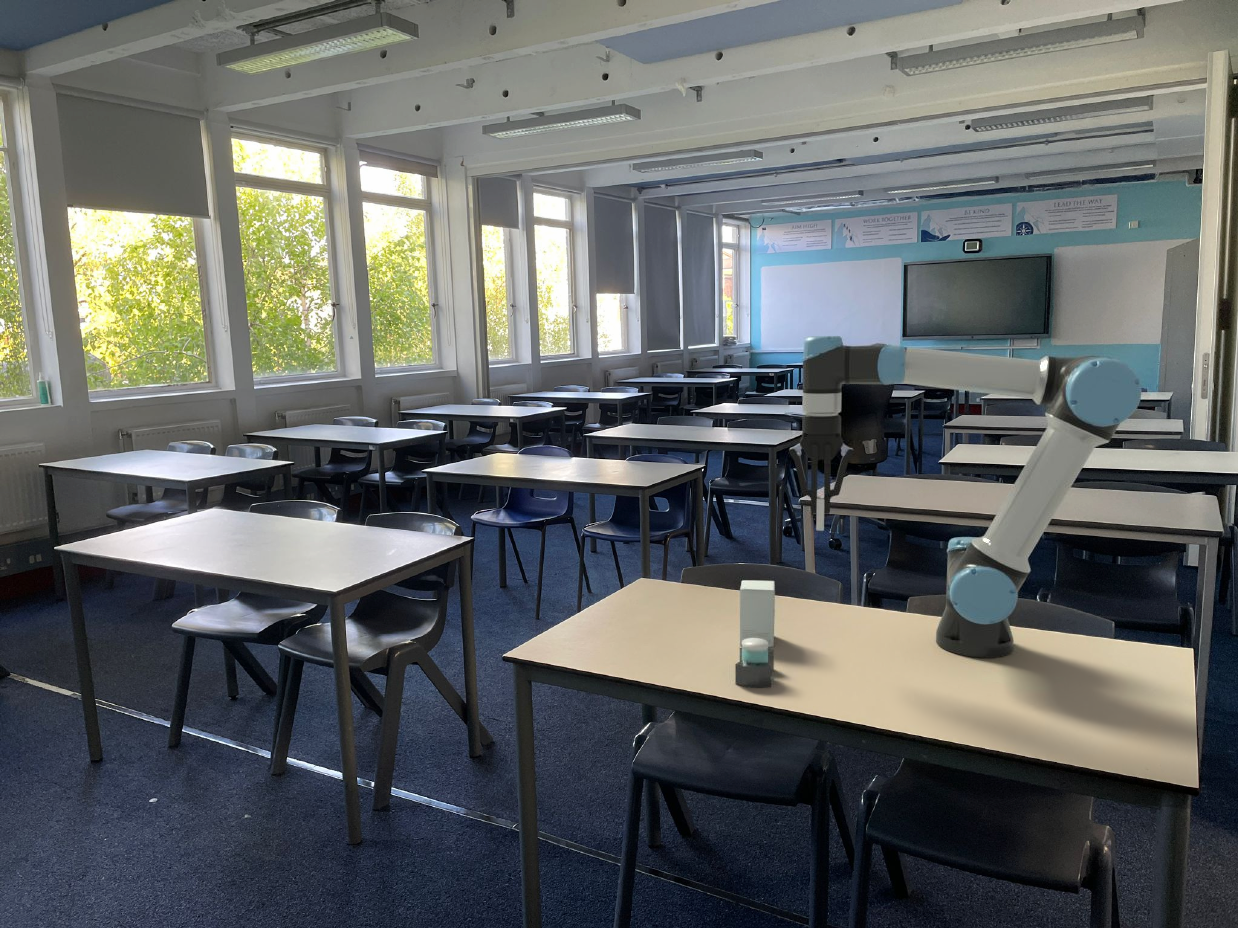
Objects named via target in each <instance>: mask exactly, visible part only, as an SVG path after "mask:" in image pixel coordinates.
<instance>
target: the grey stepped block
mask: <svg viewBox="0 0 1238 928" xmlns="http://www.w3.org/2000/svg"><path fill="white" fill-rule="evenodd" d="M774 652H775V650H774V649H772V648H768V663H767V662H764V663H749V662H745V661H742V647H739V662H737V663H735V664H734V665H735V666H734V667H735V672H734V673H735V685H737V686H738V685H739V686H742V687H745V688H757V689H762V688H770V687H772V671H773V670H774V669H775V667H774V666H775V664H774V663H775V658H774V657H775V653H774Z"/></svg>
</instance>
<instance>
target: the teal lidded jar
mask: <svg viewBox="0 0 1238 928" xmlns="http://www.w3.org/2000/svg"><path fill="white" fill-rule="evenodd" d="M741 648H742V661H745V662H749V663H764V662H767V663H768V649H769V647H768V642H767V641H766V640H764V639H760V638H748V639H744V640H743V641H742V645H741Z"/></svg>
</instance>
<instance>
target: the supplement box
mask: <svg viewBox="0 0 1238 928" xmlns="http://www.w3.org/2000/svg"><path fill="white" fill-rule="evenodd" d="M740 584H741V585H740V588H739V645H740V646H742V641H743V640H744V639H748V638H760V639H764V640H766V641H767V642H768V648H773V647H774V643H775V611H776V610H775V609H776V608H775V607H776V606H775V605H776V599H775V598H776V591H775V590H776V589H775V588H776V585H775V584H776V583H775V581H774V580H752V579H751V580H741V583H740Z"/></svg>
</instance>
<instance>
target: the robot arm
mask: <svg viewBox="0 0 1238 928" xmlns="http://www.w3.org/2000/svg"><path fill="white" fill-rule="evenodd" d="M802 354H803V357H802V412H803V413H804V415H803V416H802V419H801V420H802V422H801V423H802V432H801V433H802V434H801V438H800V440H799V443H797V444H796V445H794V446H792V447H790V448H789V451H788V453H789V454H790V456H791V457H792V459H793V461H794V465H795V469H796V474H797V477H798V482H799V486H800V490H801V493H802V495H803V496H807V497H809V498H810V513H811V514H816V526H815V527H816V528H815V529H816V531H821V532H823V531H825V515H826V514H827V515H828V514H830V512H831V499H832V498H834V497H836V496H837V497H838V496H839V495H840V493H841V489H842V486H843V483H844V482H843V481H844V478H845V474H846V471H847V467H848V464H849V460H850V459H851V458H852V456H853V455H854V453H855V452H854V449H853V447H849V446H848V445H846V444H845V443H844V440H843V438H842V416H841V415H840V414H839V413H841V412H842V386H843V385H844V384H846V385H850V384H851V385H852V384H853V385H854V384H855V385H856V384H857V385H858V384H859V385H884V386H887V385H895V384H896V385H897V384H898V385H899V384H907V385H916V386H922V387H923V386H924V387H931V388H940V389H946V390H947V389H949V390H957V391H966V392H971V393H973V392H974V393H981V394H991V395H999V396H1007V397H1016V398H1025V399H1032V401H1033V402H1035V404H1036V405H1039V406H1047V407H1048V408H1047V410H1046V411H1045V413H1044V415H1045V417H1046V420H1047V428H1046V429H1045V430H1044V432H1043V434H1042V435H1041V438H1040V439H1039V441H1038V442H1037V445H1036V446H1035V447H1034V449H1033V451H1032V452H1031V454H1030V456H1029V458H1028V460H1027V462H1026V463H1025V465H1024V467H1023V469H1022V470H1021V472H1020V474H1019V476H1017V477H1018V478H1017V479H1016V480H1015V482H1014V484H1013V486H1012V487H1011V489H1010V490H1009V493H1008V494H1007V496H1006V498H1005V499H1004V501H1003V503H1002V504H1001V507H1000V508H999V510H998V511H997V513H996V514H995V516H994V518H993V520H992V522H991V524H990V525H989V527H988V529H987V530H986V531H985V533H984V535H982V536H979V537H973V536H961V537H958V536H957V537H953V538H951V539H949V541H948V545H947V549H946V553H947V565H946V566H947V567H946V568H947V570H946V571H947V572H946V596H945V598H946V599H945V601H946V602H945V609H944V611H943V613H942V616H941V618H940V621H939V623H938V625H937V629H936V632H935V643H936V644H937V645H938V646H939V647H940V648H941V649H943V650H946V651H948V652H950V653H953V654H957V655H961V656H967V657H975V658H999V657H1005V656H1007V655H1009V654H1011V653H1012V652H1013V651H1014V640H1015V639H1014V636H1013V632H1012V630H1011V626H1010V622H1009V619H1008V617H1009V616H1010V615H1011V614H1012V613H1013V611H1014V610H1015V608H1016V605H1017V603H1018V597H1019V591H1020V589H1021V588H1022V586H1023V584H1024V582H1025V581H1026V579H1027V578H1028V576H1029V574H1030V572H1031V566H1030V563H1029V557H1030V555H1031V553H1032V552H1033V550H1034V549H1035V547H1036V545H1037V544H1038V542H1039V541H1040V538H1041V537H1042V536H1043V534H1044V532H1045V531H1046V529H1047V527H1048V526H1049V524H1050V522H1051V520H1052V519H1053V517H1054V515H1055V513H1056V512H1057V511H1058V509H1059V507H1060V506H1061V504H1062V503H1063V500H1064V499H1065V498H1066V495H1067V494H1068V492H1069V490H1070V489H1071V487H1072V485H1073V484H1074V482H1075V481H1076V479H1077V477H1078V476H1079V474H1080V472H1081V470H1082V469H1083V467H1084V466H1085V464H1086V463H1087V461H1088V459H1089V457H1090V456H1091V454H1092V453H1093V451H1094V449H1096V447H1098V446H1101V445H1104V444H1107V443H1109V442H1110V441H1111V440H1112V437H1113V436H1114V434H1115V433H1116V431H1117V430H1118V428H1119V426H1120V425H1121V424H1122V422H1124V421H1126V420H1127V419H1128V418H1130V417H1131V416H1132V415H1133V413H1135V411H1136V410H1137V409H1138V406H1139V404H1140V401H1141V399H1142V385H1141V381H1140V379H1139V377H1138V375H1137V374H1136V372H1135V371H1134V370H1133V369H1132V368H1131V366H1129V365H1128V364H1127V363H1125V362H1122V360H1120V359H1117V358H1113V357H1109V356H1099V355H1097V356H1096V355H1087V356H1074V357H1073V356H1071V357H1070V356H1069V357H1068V356H1066V357H1065V356H1064V357H1063V356H1048V355H1045V356H1044V357H1042V358H1041V359H1027V358H1018V357H1009V356H1008V357H1007V356H999V355H998V356H997V355H989V354H988V355H987V354H979V353H978V354H977V353H969V352H960V351H951V350H939V349H930V348H920V347H912V346H911V347H910V346H903V345H899V344H898V345H897V344H896V345H895V344H887V343H879V342H878V343H874V344H873V343H872V344H869V345H844V342H843V337H841V336H838V335H834V336H833V335H828V336H826V335H824V336H819V335H818V336H808V337H806V339H805V340H804V343H803V353H802ZM840 450H841V452H840V454H841V456H842V457H841V460H840V464H839V467H838V471H837V474H836V475H837V476H836V477H835V478H836V479H835V482H834V486H833V488H832V489H831V470H832V468H831V466H832V465H831V463H832V461H831V460H833V458H834V457H835V456H836V455H837V453H838V452H839V451H840ZM802 451H804V453H805V454H806V456H808V458H809V459H810V461H811V464H810V467H811V469H810V470H811V472H810V488H809V487H808V483H807V479H806V475H805V472H804V466H803V461H802V458H801V455H802ZM821 460H822V461H824V466H823V467H824V473H823V474H824V476H823V477H824V478H823V479H824V481H823V496H818V469H819V468H818V465H819V464H818V463H819V462H818V461H821Z"/></svg>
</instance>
